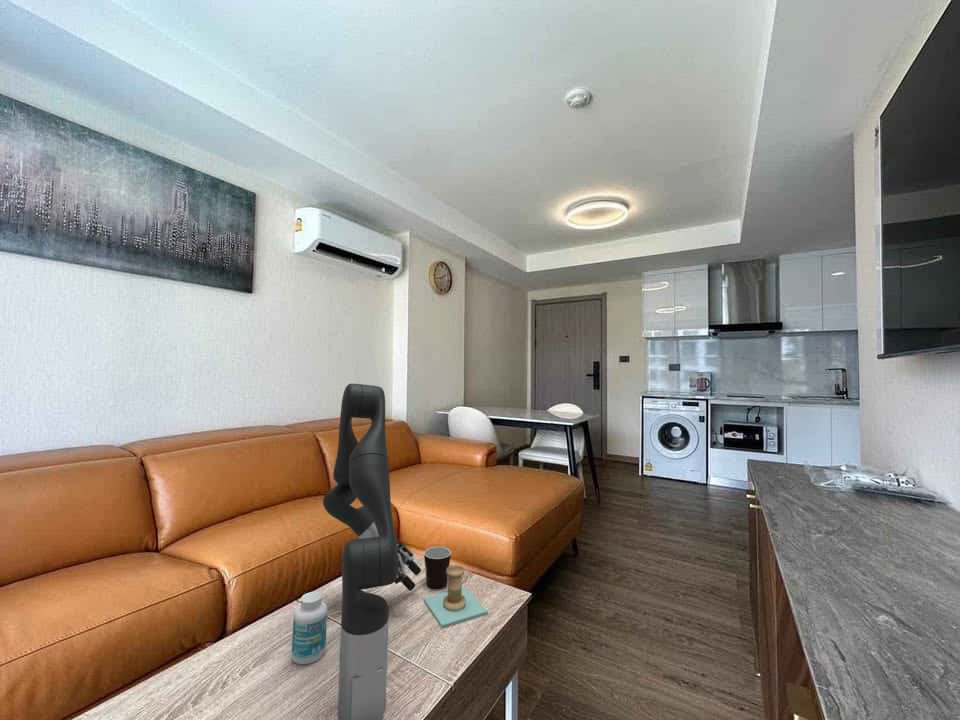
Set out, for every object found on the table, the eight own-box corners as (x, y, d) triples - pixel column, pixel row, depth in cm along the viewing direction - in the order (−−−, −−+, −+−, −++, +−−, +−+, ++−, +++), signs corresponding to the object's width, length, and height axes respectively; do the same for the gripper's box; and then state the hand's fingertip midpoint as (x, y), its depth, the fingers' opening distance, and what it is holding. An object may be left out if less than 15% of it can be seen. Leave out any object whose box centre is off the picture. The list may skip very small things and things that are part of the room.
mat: (487, 614, 110) (487, 611, 110) (441, 628, 103) (442, 625, 103) (465, 589, 122) (465, 587, 122) (423, 600, 116) (423, 598, 116)
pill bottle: (288, 669, 88) (291, 607, 89) (294, 647, 95) (297, 590, 96) (323, 663, 90) (326, 603, 91) (327, 642, 97) (329, 586, 98)
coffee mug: (445, 593, 120) (446, 560, 120) (419, 589, 122) (420, 557, 122) (455, 574, 131) (456, 544, 132) (431, 571, 133) (432, 541, 134)
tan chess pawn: (469, 607, 112) (470, 571, 112) (449, 614, 108) (450, 577, 109) (458, 596, 117) (459, 562, 118) (439, 602, 114) (440, 567, 114)
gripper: (380, 540, 107) (421, 584, 106) (393, 520, 121) (429, 560, 121) (361, 559, 107) (401, 603, 106) (376, 537, 121) (411, 576, 121)
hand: (416, 580), depth 114 cm, fingers open, 8 cm apart
